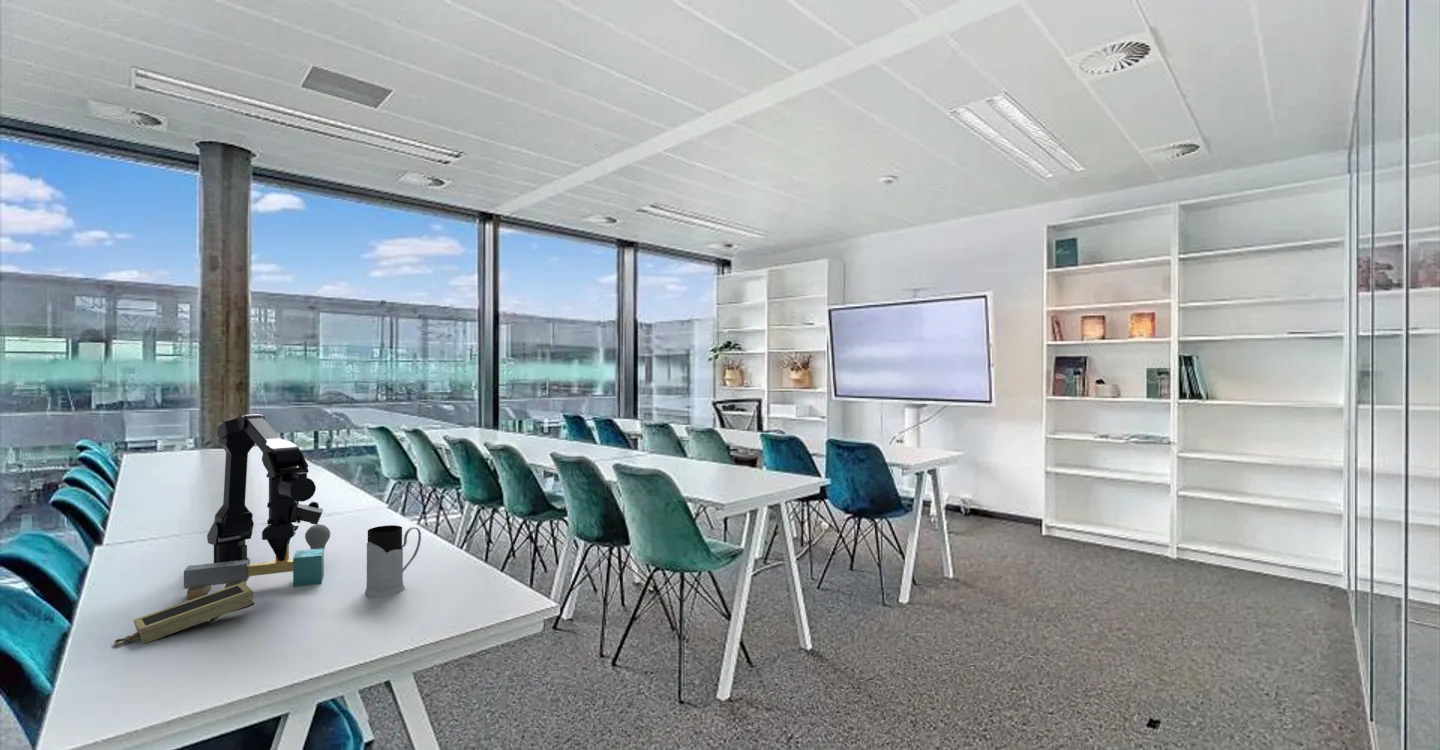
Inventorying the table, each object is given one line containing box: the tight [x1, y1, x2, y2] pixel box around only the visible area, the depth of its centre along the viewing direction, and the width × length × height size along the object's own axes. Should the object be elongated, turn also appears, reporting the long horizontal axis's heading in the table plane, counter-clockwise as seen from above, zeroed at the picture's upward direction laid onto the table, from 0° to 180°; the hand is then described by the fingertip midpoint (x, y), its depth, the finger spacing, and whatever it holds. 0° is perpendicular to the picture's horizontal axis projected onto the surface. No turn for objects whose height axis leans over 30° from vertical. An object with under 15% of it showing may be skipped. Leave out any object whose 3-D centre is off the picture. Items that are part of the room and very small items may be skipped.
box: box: [113, 583, 256, 648], centre depth 135 cm, size 8×22×5 cm, turn 139°
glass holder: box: [364, 524, 422, 598], centre depth 161 cm, size 9×14×15 cm, turn 152°
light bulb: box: [304, 523, 331, 550], centre depth 181 cm, size 6×6×10 cm
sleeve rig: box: [183, 548, 325, 602], centre depth 159 cm, size 28×8×7 cm, turn 118°
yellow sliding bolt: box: [247, 543, 293, 577], centre depth 160 cm, size 19×3×6 cm, turn 118°
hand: (282, 559), depth 161 cm, fingers closed on yellow sliding bolt, 3 cm apart
